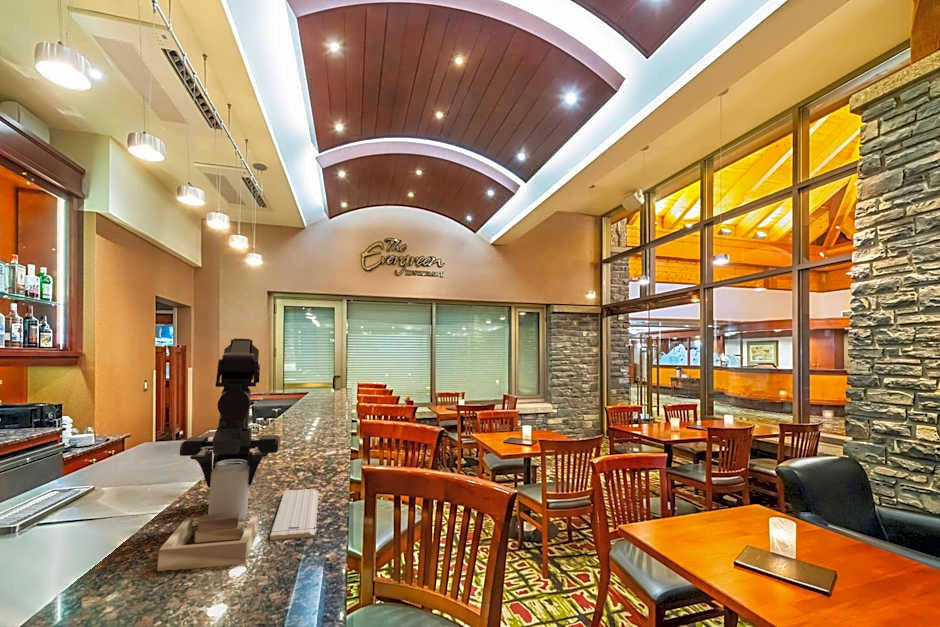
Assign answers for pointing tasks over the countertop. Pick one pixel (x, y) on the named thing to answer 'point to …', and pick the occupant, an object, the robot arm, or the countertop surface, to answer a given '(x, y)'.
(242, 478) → the can
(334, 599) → the countertop surface
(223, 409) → the robot arm
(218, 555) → the rack
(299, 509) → the baseboard
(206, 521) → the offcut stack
